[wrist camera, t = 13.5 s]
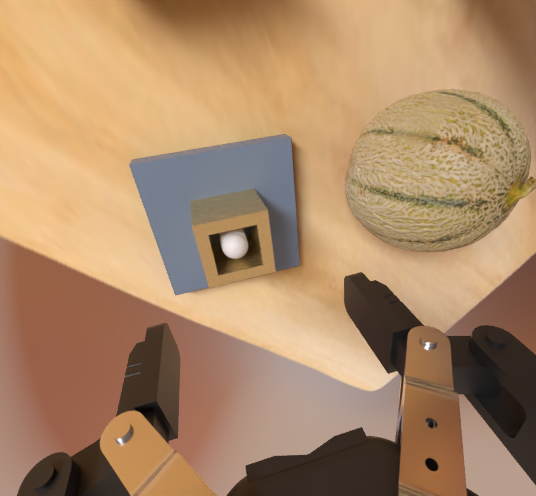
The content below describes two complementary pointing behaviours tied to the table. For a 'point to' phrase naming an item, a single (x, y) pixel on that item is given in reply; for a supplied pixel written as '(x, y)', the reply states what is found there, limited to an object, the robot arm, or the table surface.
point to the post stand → (213, 184)
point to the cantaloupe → (438, 170)
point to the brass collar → (225, 219)
